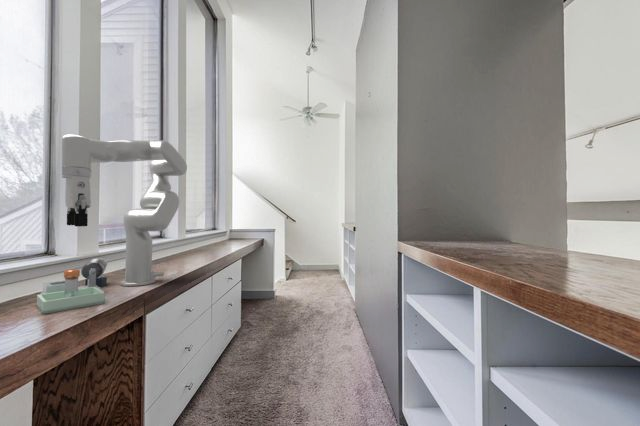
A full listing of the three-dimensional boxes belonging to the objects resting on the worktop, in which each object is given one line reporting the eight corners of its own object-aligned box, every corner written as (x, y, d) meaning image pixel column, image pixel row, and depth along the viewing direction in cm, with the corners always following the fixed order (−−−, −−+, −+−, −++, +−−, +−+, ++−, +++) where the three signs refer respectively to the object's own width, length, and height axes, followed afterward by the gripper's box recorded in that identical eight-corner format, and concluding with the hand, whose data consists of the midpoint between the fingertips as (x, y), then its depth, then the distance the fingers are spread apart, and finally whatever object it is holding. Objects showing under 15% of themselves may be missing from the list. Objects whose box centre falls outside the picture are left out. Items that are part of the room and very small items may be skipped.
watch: (108, 283, 121) (109, 257, 122) (98, 288, 113) (99, 259, 114) (93, 284, 120) (94, 257, 120) (82, 288, 112) (83, 260, 112)
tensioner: (97, 289, 112) (98, 260, 112) (104, 293, 106) (105, 263, 106) (40, 297, 99) (41, 265, 99) (45, 302, 93) (46, 268, 94)
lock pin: (77, 299, 94) (78, 269, 95) (80, 301, 92) (81, 270, 92) (61, 302, 91) (62, 270, 92) (64, 304, 89) (65, 271, 89)
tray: (94, 296, 101) (95, 286, 101) (104, 303, 94) (104, 292, 94) (36, 306, 90) (37, 294, 90) (42, 314, 82) (43, 302, 82)
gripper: (99, 173, 93) (99, 226, 93) (83, 176, 103) (83, 224, 104) (68, 170, 87) (68, 227, 87) (55, 174, 98) (55, 225, 98)
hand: (76, 225), depth 95 cm, fingers open, 9 cm apart
